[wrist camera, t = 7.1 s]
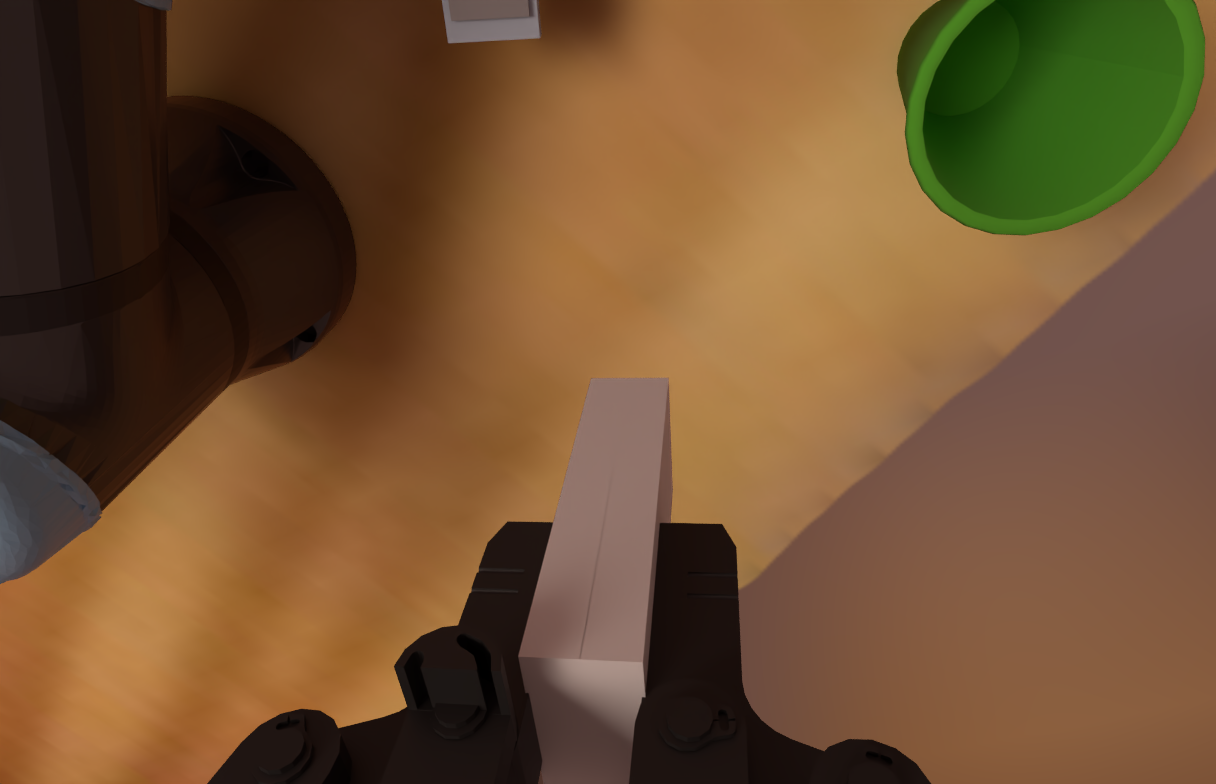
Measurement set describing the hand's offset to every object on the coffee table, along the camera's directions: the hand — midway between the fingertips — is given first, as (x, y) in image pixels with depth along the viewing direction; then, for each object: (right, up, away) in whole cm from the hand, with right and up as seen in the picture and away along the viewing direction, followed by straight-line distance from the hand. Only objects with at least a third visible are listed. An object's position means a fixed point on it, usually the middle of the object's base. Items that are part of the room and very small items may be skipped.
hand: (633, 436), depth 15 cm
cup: (+15, +16, +19) cm, 29 cm away
